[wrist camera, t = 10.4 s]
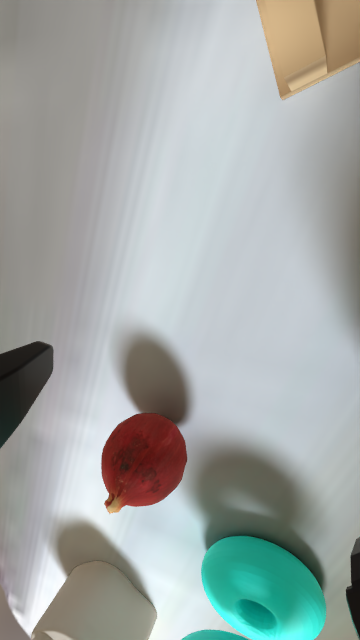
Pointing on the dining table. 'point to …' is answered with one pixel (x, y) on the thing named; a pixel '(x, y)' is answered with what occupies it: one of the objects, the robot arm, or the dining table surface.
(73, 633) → the lumpy-topped squat cylinder
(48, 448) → the dining table surface
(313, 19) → the oak base
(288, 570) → the donuts
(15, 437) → the dining table surface
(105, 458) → the red rounded piece
